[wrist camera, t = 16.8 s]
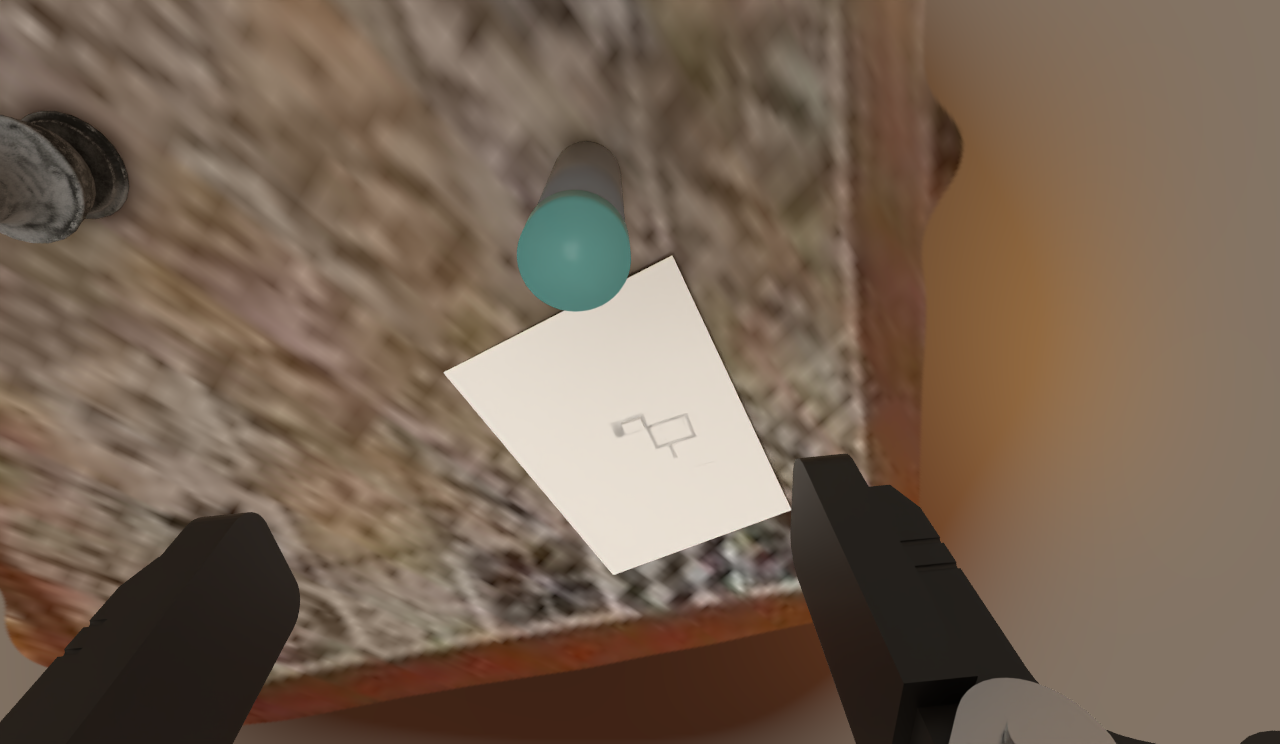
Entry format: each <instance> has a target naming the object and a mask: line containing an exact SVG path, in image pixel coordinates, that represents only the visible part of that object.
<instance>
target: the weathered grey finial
mask: <svg viewBox="0 0 1280 744" xmlns="http://www.w3.org/2000/svg"><path fill="white" fill-rule="evenodd" d="M128 190H129V183H128V174H127V171H126V169H125V166H124V163H123V161H122V159H121V157H120V156H119V154H118V153H117V151H116V149H115V148H114V146H113V145H112V144H111V143H110V142H109V141H108V140H107V139H106V138H105V137H104V136H103V135H102V134H101V133H100V132H99V131H97V130H96V129H95V128H93V127H92V126H91V125H89V124H88V123H86V122H84V121H82V120H80V119H78V118H76V117H74V116H71V115H68V114H64V113H60V112H56V111H40V112H36V113H33V114H29V115H27V116H25V117H24V118H23V119H21V120H17V119H14V118H11V117H7V116H4V115H0V233H2V234H4V235H7V236H9V237H11V238H13V239H17V240H21V241H26V242H30V243H52V242H55V241H59V240H63V239H65V238H67V237H68V236H70V235H71V234H72V233H74V232H75V231H76V230H77V229H78V227H79V226H80V224H81V222H82V221H83V220H84V219H99V218H102V217H106V216H110V215H112V214H113V213H115V212H116V211H118V210H119V209H120V208H121V207H122V205H123V204H124V202H125V201H126V199H127V195H128Z"/></svg>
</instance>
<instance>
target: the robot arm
mask: <svg viewBox="0 0 1280 744" xmlns="http://www.w3.org/2000/svg"><path fill="white" fill-rule="evenodd" d="M791 549H792V556H793V561H794V566H795V570H796V574H797V577H798V580H799V583H800V586H801V589H802V592H803V594H804V597H805V600H806V603H807V606H808V609H809V611H810V614H811V617H812V620H813V623H814V626H815V629H816V631H817V634H818V637H819V640H820V642H821V646H822V648H823V651H824V654H825V657H826V660H827V662H828V665H829V668H830V671H831V674H832V677H833V679H834V682H835V685H836V688H837V691H838V694H839V697H840V700H841V702H842V705H843V708H844V711H845V714H846V717H847V719H848V722H849V725H850V728H851V731H852V733H853V736H854V739H855V742H856V744H1155V743H1150V742H1145V741H1141V740H1136V739H1132V738H1129V737H1125V736H1121V735H1118V734H1116V733H1113V732H1111V731H1108V730H1106V729H1105V728H1104V727H1103V726H1102V725H1101V724H1100V723H1099V722H1098V721H1097V720H1096V719H1095V718H1094V717H1093V716H1092V715H1091V714H1089V712H1087V711H1086V710H1085V709H1083V708H1082V707H1081V706H1079V705H1078V704H1077V703H1075V702H1074V701H1072V700H1071V699H1069V698H1067V697H1066V696H1064V695H1063V694H1061V693H1059V692H1056V691H1055V690H1052V689H1050V688H1048V687H1046V686H1043V685H1040V684H1039V683H1038V682H1037V681H1036V680H1035V679H1034V677H1033V676H1032V675H1031V673H1030V672H1029V671H1028V669H1027V668H1026V667H1025V665H1024V663H1023V662H1022V660H1021V659H1020V657H1019V656H1018V654H1017V653H1016V651H1015V650H1014V649H1013V647H1012V645H1011V644H1010V642H1009V641H1008V639H1007V638H1006V636H1005V635H1004V633H1003V632H1002V630H1001V629H1000V627H999V626H998V624H997V623H996V621H995V620H994V618H993V617H992V615H991V614H990V612H989V611H988V609H987V608H986V606H985V605H984V603H983V602H982V600H981V599H980V597H979V596H978V594H977V592H976V591H975V590H974V588H973V586H972V585H971V583H970V582H969V580H968V579H967V577H966V576H965V575H964V573H963V572H962V570H961V569H960V568H957V566H956V561H955V559H954V558H953V556H952V555H951V553H950V552H949V550H948V549H947V547H946V546H945V544H944V543H941V542H940V537H939V535H938V534H937V532H936V531H935V529H934V528H933V526H932V525H931V523H930V522H929V520H928V519H927V517H926V516H925V514H924V513H923V511H922V509H921V508H920V507H919V506H917V505H916V504H915V503H913V502H912V501H911V500H909V499H908V498H907V497H905V496H904V495H903V494H901V493H900V492H899V491H897V490H896V489H895V488H893V487H892V486H891V485H883V486H873V487H868V485H867V483H866V481H865V480H864V478H863V476H862V474H861V473H860V471H859V469H858V468H857V466H856V464H855V462H854V461H853V459H852V458H851V457H850V456H849V455H848V454H837V455H827V456H817V457H807V458H798V459H796V460H795V463H794V468H793V488H792V512H791ZM299 607H300V593H299V588H298V584H297V582H296V580H295V578H294V576H293V574H292V572H291V570H290V568H289V566H288V564H287V562H286V560H285V558H284V556H283V554H282V552H281V550H280V549H279V547H278V545H277V543H276V541H275V539H274V537H273V535H272V533H271V531H270V529H269V527H268V525H267V523H266V522H265V520H264V519H263V518H262V517H261V516H260V515H259V514H257V513H253V512H248V513H238V514H228V515H219V516H209V517H201V518H197V519H195V520H193V521H192V522H190V523H189V524H188V525H187V526H186V527H185V528H184V529H183V531H182V532H181V533H180V534H179V535H178V536H177V538H176V539H175V540H174V541H173V542H172V544H171V545H170V546H169V547H168V548H167V549H166V551H165V552H164V553H163V554H162V555H161V556H160V557H158V558H157V559H155V560H154V561H153V562H151V563H150V564H149V565H147V566H146V567H145V568H143V569H142V570H141V571H139V572H138V573H137V574H136V575H134V576H133V577H132V578H130V579H129V580H128V581H126V582H125V583H124V584H122V585H121V586H120V587H119V588H118V589H117V590H116V591H115V592H114V593H113V595H112V596H111V597H110V598H109V599H108V600H107V601H106V603H105V604H104V605H103V606H102V607H101V608H100V609H99V610H98V612H97V613H96V614H95V615H94V616H93V617H92V618H91V620H90V626H89V627H84V628H83V629H82V630H81V631H80V632H79V633H78V634H77V635H76V637H75V638H74V639H73V640H72V641H71V642H70V643H69V645H68V646H67V647H66V648H65V649H64V650H65V654H64V656H62V657H57V658H56V659H55V660H54V662H53V663H52V664H51V665H50V666H49V667H48V668H47V670H46V671H45V672H44V673H43V674H42V675H41V677H40V678H39V679H38V680H37V681H36V682H35V683H34V684H33V685H32V687H31V688H30V689H29V690H28V691H27V692H26V693H25V695H24V696H23V697H22V698H21V699H20V700H19V701H18V703H17V704H16V705H15V706H14V707H13V708H12V709H11V711H10V712H9V713H8V714H7V715H6V716H5V717H4V718H3V720H2V721H1V722H0V744H233V742H234V740H235V738H236V736H237V734H238V733H239V731H240V729H241V727H242V725H243V723H244V721H245V719H246V717H247V715H248V714H249V712H250V710H251V708H252V706H253V704H254V702H255V700H256V698H257V696H258V695H259V693H260V691H261V689H262V687H263V685H264V683H265V681H266V679H267V677H268V676H269V674H270V672H271V670H272V668H273V666H274V664H275V662H276V660H277V658H278V656H279V655H280V653H281V651H282V649H283V647H284V645H285V643H286V641H287V639H288V637H289V636H290V634H291V632H292V630H293V628H294V626H295V624H296V621H297V618H298V613H299ZM1241 744H1280V731H1266V732H1259V733H1257V734H1254V735H1251V736H1249V737H1248V738H1246V739H1245V740H1244V741H1243V742H1241Z"/></svg>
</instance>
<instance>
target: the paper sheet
mask: <svg viewBox="0 0 1280 744" xmlns="http://www.w3.org/2000/svg"><path fill="white" fill-rule="evenodd" d="M443 373H444V374H445V375H446V376H447V378H448V379H449V380H450V381H451V382H452V384H453V385H454V386H455V387H456V388H457V390H458V391H459V392H460V393H461V394H462V395H463V397H464V398H465V399H466V400H467V401H468V403H469V404H470V405H471V406H472V407H473V409H474V410H475V411H476V412H477V413H478V415H479V416H480V417H481V418H482V419H483V420H484V422H485V423H486V424H487V425H488V426H489V428H490V429H491V430H492V431H493V432H494V434H495V435H496V436H497V437H498V438H499V440H500V441H501V442H502V443H503V444H504V445H505V447H506V448H507V449H508V450H509V451H510V453H511V454H512V455H513V456H514V457H515V459H516V460H517V461H518V462H519V463H520V465H521V466H522V467H523V468H524V469H525V470H526V472H527V473H528V474H529V475H530V476H531V478H532V479H533V480H534V481H535V482H536V484H537V485H538V486H539V487H540V488H541V490H542V491H543V492H544V493H545V494H546V496H547V497H548V498H549V499H550V500H551V501H552V503H553V504H554V505H555V506H556V507H557V509H558V510H559V511H560V512H561V513H562V515H563V516H564V517H565V518H566V519H567V521H568V522H569V523H570V524H571V525H572V526H573V528H574V529H575V530H576V531H577V532H578V534H579V535H580V536H581V537H582V538H583V540H584V541H585V542H586V543H587V544H588V546H589V547H590V548H591V549H592V550H593V551H594V553H595V554H596V555H597V556H598V557H599V559H600V560H601V561H602V562H603V563H604V565H605V566H606V567H607V568H608V569H609V571H610V572H611V573H612V574H613V575H615V574H617V573H620V572H623V571H626V570H628V569H631V568H634V567H637V566H639V565H642V564H645V563H648V562H650V561H653V560H656V559H659V558H661V557H664V556H667V555H670V554H672V553H675V552H678V551H681V550H683V549H686V548H689V547H692V546H694V545H697V544H700V543H702V542H705V541H708V540H711V539H713V538H716V537H719V536H722V535H724V534H727V533H730V532H733V531H735V530H738V529H741V528H744V527H746V526H749V525H752V524H755V523H757V522H760V521H763V520H766V519H768V518H771V517H774V516H776V515H779V514H782V513H785V512H787V511H790V510H791V508H790V506H789V503H788V501H787V499H786V497H785V495H784V493H783V491H782V489H781V486H780V484H779V482H778V480H777V478H776V476H775V474H774V471H773V469H772V467H771V465H770V463H769V461H768V459H767V457H766V454H765V452H764V450H763V448H762V446H761V444H760V442H759V439H758V437H757V435H756V433H755V431H754V429H753V427H752V424H751V422H750V420H749V418H748V416H747V414H746V412H745V410H744V407H743V405H742V403H741V401H740V399H739V397H738V395H737V392H736V390H735V388H734V386H733V384H732V382H731V380H730V377H729V375H728V373H727V371H726V369H725V367H724V365H723V363H722V360H721V358H720V356H719V354H718V352H717V350H716V348H715V345H714V343H713V341H712V339H711V337H710V335H709V333H708V331H707V328H706V326H705V324H704V322H703V320H702V318H701V316H700V313H699V311H698V309H697V307H696V305H695V303H694V301H693V298H692V296H691V294H690V292H689V290H688V288H687V286H686V284H685V281H684V279H683V277H682V275H681V273H680V271H679V269H678V266H677V264H676V262H675V260H674V258H673V256H670V257H668V258H666V259H664V260H662V261H660V262H658V263H656V264H654V265H652V266H650V267H648V268H646V269H645V270H643V271H641V272H639V273H637V274H635V275H633V276H631V277H629V278H627V280H626V282H625V284H624V285H623V287H622V288H621V290H620V291H619V292H618V294H617V295H616V296H615V297H614V298H612V299H611V300H610V301H609V302H607V303H605V304H604V305H602V306H600V307H597V308H595V309H591V310H587V311H578V312H573V311H565V310H564V311H563V312H561V313H559V314H557V315H555V316H553V317H551V318H549V319H547V320H545V321H543V322H541V323H539V324H537V325H535V326H533V327H531V328H529V329H527V330H525V331H523V332H522V333H520V334H518V335H516V336H514V337H512V338H510V339H508V340H506V341H504V342H502V343H500V344H498V345H496V346H494V347H492V348H490V349H488V350H486V351H484V352H482V353H481V354H479V355H477V356H475V357H473V358H471V359H469V360H467V361H465V362H463V363H461V364H459V365H457V366H455V367H453V368H451V369H449V370H447V371H445V372H443Z"/></svg>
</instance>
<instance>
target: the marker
mask: <svg viewBox="0 0 1280 744" xmlns="http://www.w3.org/2000/svg"><path fill="white" fill-rule="evenodd" d="M517 262H518V267H519V271H520V274H521V276H522V279H523V280H524V282H525V284H526V285H527V287H528V288H529V289H530V291H531V292H532V293H533V294H534V295H535V296H536V297H537V298H539V299H540V300H541V301H543V302H544V303H546V304H548V305H550V306H552V307H554V308H557V309H560V310H565V311H573V312H578V311H587V310H591V309H595V308H597V307H600V306H602V305H604V304H605V303H607V302H609V301H610V300H611V299H612V298H614V297H615V296H616V295H617V294H618V292H619V291H620V290H621V288H622V287H623V285H624V284H625V282H626V280H627V277H628V274H629V270H630V264H631V252H630V242H629V235H628V230H627V227H626V224H625V217H624V206H623V194H622V183H621V172H620V168H619V164H618V162H617V160H616V158H615V157H614V156H613V154H612V153H611V152H610V151H609V150H608V149H606V148H605V147H604V146H602V145H600V144H597V143H594V142H578V143H575V144H572V145H570V146H569V147H567V148H566V149H565V150H564V151H563V152H562V153H561V154H560V155H559V157H558V158H557V160H556V163H555V165H554V167H553V170H552V172H551V174H550V176H549V179H548V181H547V183H546V186H545V188H544V190H543V193H542V195H541V197H540V200H539V202H538V204H537V206H536V207H535V209H534V210H533V211H532V213H531V214H530V216H529V218H528V220H527V222H526V225H525V227H524V229H523V231H522V234H521V236H520V239H519V242H518V248H517Z"/></svg>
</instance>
